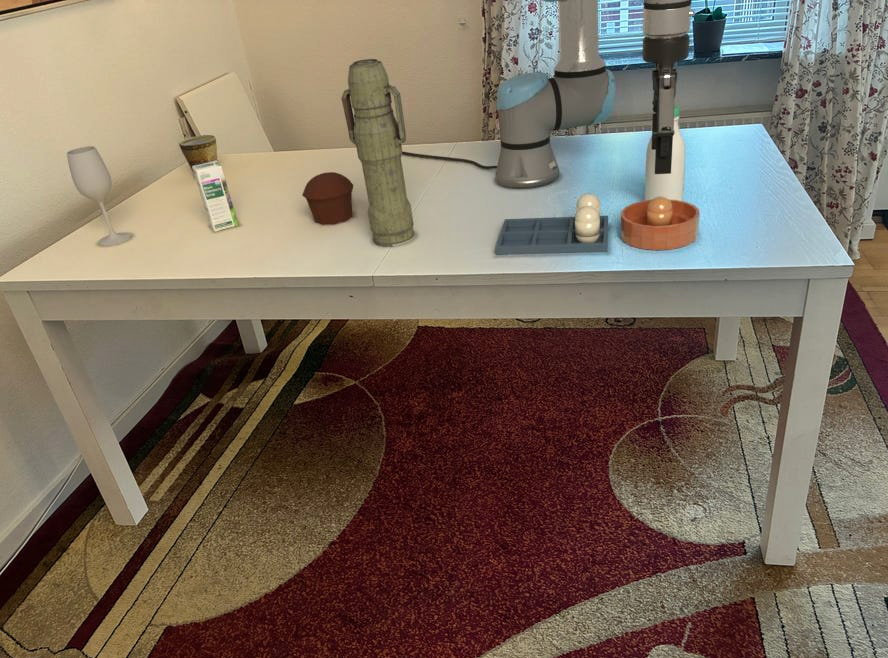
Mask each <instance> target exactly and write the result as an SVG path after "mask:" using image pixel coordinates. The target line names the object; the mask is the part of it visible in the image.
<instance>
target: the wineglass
mask: <svg viewBox="0 0 888 658" xmlns="http://www.w3.org/2000/svg"><path fill="white" fill-rule="evenodd" d="M66 159H67V163H68V168H69V171H70V175H71V179H72V182H73V185H74V187H75V188H76V190H77V191H78V192H79V194H81V195H82V196H84V197H85V198H87V199H88V200H91V201H94V202H96V203H97V204H98V205H99V206H100V208H101V209H100V210H101V212H102V214H103V217H104V219H105V222H106V225H107V226H108V230H109V235H106V236H105V237H102V238H101V239H99V240H98V245H99V246H101V247H112V246H115V245H120V244H122V243H126V242H127V241H129V240H130V239H131V238H132V234H130V233H129V232H118V233H117V232H116V231H114V229H113V226H112V224H111V221H110V218H109V216H108V213H107V210H106V208H105V199H106V198H107V197H108V195H109V193H110V191H111V188H112V182H113V181H112V177H111V174H110V172H109V170H108V168H107V166H106V164H105V162H104V159H103V158H102V156H101V154H100V153H99V151H98V149H97V148H96V146H91V145H90V146H82V147H78V148H73V149H71V150H69V151H67V152H66Z"/></svg>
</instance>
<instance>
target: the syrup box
mask: <svg viewBox="0 0 888 658" xmlns="http://www.w3.org/2000/svg"><path fill="white" fill-rule="evenodd" d="M217 160H218V159H217ZM217 160H216V161H213V162H208V163H204V164H200V165H195V166H192V169H193V172H194V174H193V176H194V175H195V176H194V178H195V181H196V184H197V187H198V191H199V194H200V197H201V200H202V203H203V204H202V205H203V207H204V210H205V214H206V216H207V220H208V223H209V226H210V228H211V229H212V230H213V231H214V232H220V231H222V230H226V229H227V230H228V229H231V228H234V227H238V226H239V221H238V218H237V214H236V211H235V208H234V204H233V201H232V197H231V194H230V191H229V187H228V184H227V183H228V182H227V180H226V177H225V174H224V169H223V166H222V165H221V163H220V162H219V161H217ZM193 172H192V173H193Z"/></svg>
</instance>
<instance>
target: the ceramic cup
mask: <svg viewBox="0 0 888 658" xmlns="http://www.w3.org/2000/svg"><path fill="white" fill-rule="evenodd" d="M178 145H179V149H180V151H181V152H182V155H183V156H184V158H185V159H186V161H187V164H188V166H189V168H190V170H191V171H192V174H193V176H194V177H195V175H194V172H193V169H192V166H195V165H200V164H204V163H208V162H213V161H216V160H217V161H218V146H217V138H216V136H215V135H212V134H203V135H196V136H191V137H188V138H185V139H182V140H180V141H179V142H178ZM218 162H219V161H218Z"/></svg>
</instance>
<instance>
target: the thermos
mask: <svg viewBox="0 0 888 658" xmlns="http://www.w3.org/2000/svg"><path fill="white" fill-rule="evenodd" d="M347 86H348V88H347V89H345V90H344V91H343V92H342V95H341V103H342V108H343V112H344V117H345V121H346V126H347V127H346V128H347V131H348V138H349V141H350V142H351V143H352V144H353V145H354V146H355V148H356V153H357V154H356V155H357V158H358V160H359V162H360V163H361V167H362V173H363V179H364V184H365V189H366V195H367V200H368V201H367V202H368V210H367V217H368V221H369V227H370V231H371V232H372V237H373V238H372V239H373V243H374V244H375V245H377V246H379V247H380V246H381V247H393V245H399V244H403V243H406V242H408V241H410V240H411V239H413V238H414V237H415V231H414V217H413V211H412V205H411V202H410V201H409V199H408V196H407V190H406V182H405V176H404V175H405V174H404V169H403V162H402V155H403V154H402V151H403V147H402V144H404V143H406V142H407V133H406V126H405V118H404V110H403V104H402V97H401V92H400V91H399V90H398V88H397V87H396V86H393V85H392V84H390V81H389V75H388V73H387V70H386V68H385V66H384V64H383V62H382V61H381V60H378V59H377V58H367V59H360V60H356V61H353V62H352V64H350V65H349V67H348V74H347ZM392 96H393V99H394V107H395V114H396V116H395V114H394V109H393V108H392V102H393V101H392ZM353 112H354V113H353Z"/></svg>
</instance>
